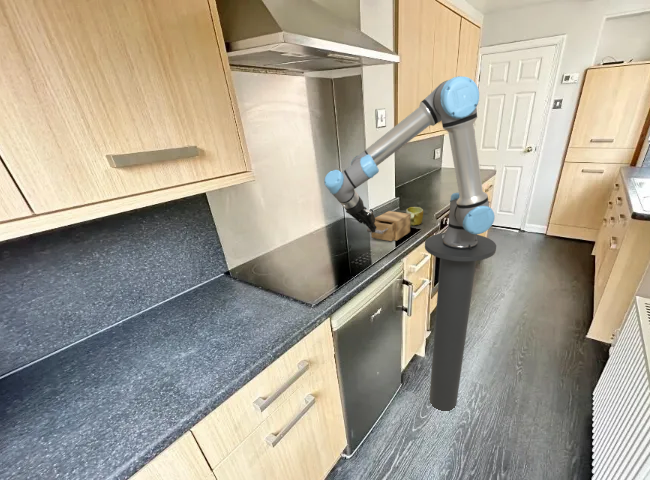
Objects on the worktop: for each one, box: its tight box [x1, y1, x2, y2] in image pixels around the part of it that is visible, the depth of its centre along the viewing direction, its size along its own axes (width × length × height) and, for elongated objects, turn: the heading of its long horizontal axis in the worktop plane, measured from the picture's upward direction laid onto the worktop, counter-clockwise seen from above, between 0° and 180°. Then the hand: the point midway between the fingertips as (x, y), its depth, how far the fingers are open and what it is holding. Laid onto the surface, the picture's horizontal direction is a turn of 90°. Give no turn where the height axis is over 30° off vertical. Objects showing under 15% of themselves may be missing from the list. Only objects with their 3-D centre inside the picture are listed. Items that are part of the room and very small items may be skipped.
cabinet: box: [375, 210, 411, 242], centre depth 160 cm, size 15×13×10 cm
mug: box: [405, 206, 424, 227], centre depth 174 cm, size 12×10×10 cm
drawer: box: [366, 220, 395, 242], centre depth 154 cm, size 20×11×8 cm, turn 147°
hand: (374, 229), depth 146 cm, fingers closed
